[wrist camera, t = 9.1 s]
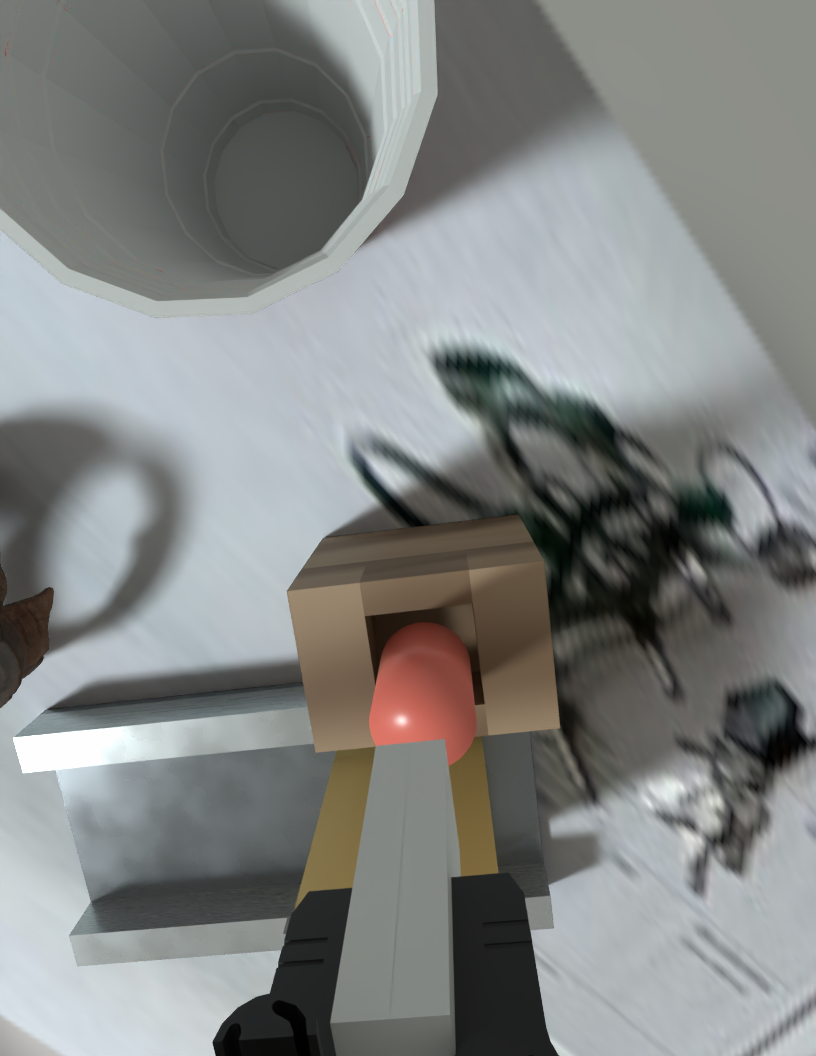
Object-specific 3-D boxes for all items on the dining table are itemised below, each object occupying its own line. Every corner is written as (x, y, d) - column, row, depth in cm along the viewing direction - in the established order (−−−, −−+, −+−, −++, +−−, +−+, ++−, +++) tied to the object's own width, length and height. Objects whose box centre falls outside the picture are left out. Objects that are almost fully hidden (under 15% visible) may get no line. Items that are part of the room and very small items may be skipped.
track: (45, 709, 31) (13, 737, 29) (521, 659, 29) (528, 684, 27) (102, 924, 33) (77, 966, 31) (545, 887, 32) (554, 928, 29)
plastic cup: (498, 221, 26) (548, 97, 14) (271, 398, 27) (147, 420, 16) (317, -51, 24) (201, -449, 12) (87, 157, 26) (-204, -19, 14)
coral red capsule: (374, 627, 22) (361, 679, 18) (464, 617, 21) (469, 667, 18) (387, 710, 22) (377, 776, 19) (474, 700, 22) (482, 766, 18)
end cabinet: (323, 538, 29) (286, 591, 22) (518, 514, 28) (544, 561, 21) (344, 669, 30) (316, 758, 23) (532, 648, 29) (561, 733, 22)
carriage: (336, 737, 30) (282, 934, 19) (482, 722, 29) (506, 915, 19) (359, 871, 31) (320, 1120, 21) (499, 859, 31) (529, 1107, 20)
